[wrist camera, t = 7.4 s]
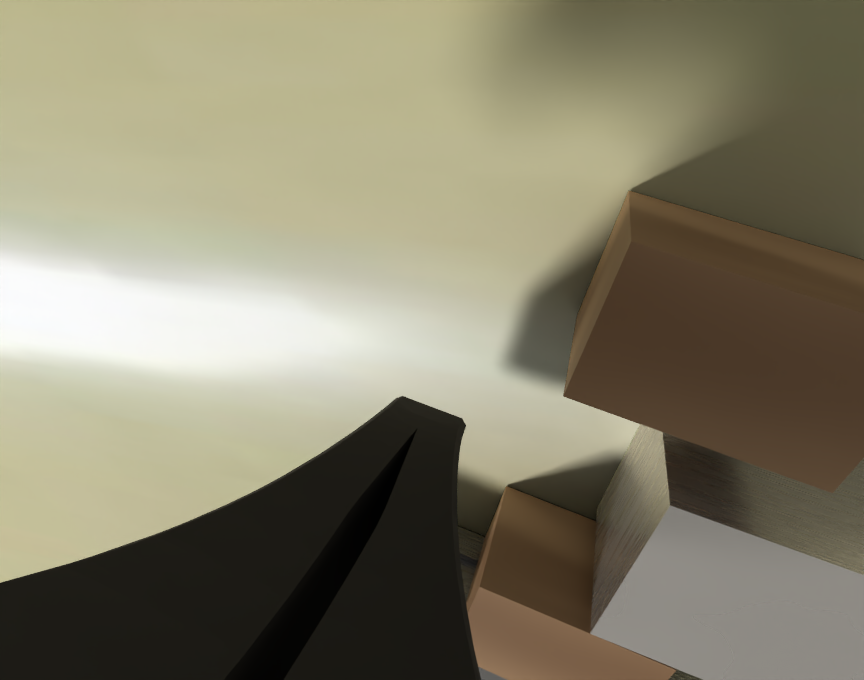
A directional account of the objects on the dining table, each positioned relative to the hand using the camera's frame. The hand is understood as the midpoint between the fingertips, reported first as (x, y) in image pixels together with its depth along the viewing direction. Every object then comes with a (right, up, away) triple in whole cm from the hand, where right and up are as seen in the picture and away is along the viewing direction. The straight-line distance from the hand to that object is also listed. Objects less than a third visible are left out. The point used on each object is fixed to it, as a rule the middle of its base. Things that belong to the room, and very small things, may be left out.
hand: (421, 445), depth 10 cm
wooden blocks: (+4, 0, +1) cm, 5 cm away
